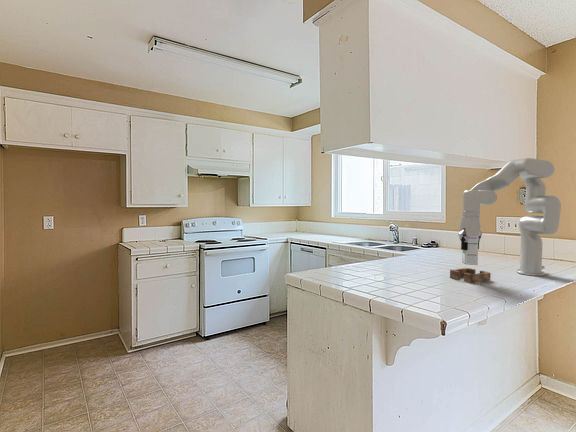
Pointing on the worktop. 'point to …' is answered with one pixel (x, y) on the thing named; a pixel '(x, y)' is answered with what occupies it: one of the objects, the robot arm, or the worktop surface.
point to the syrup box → (471, 252)
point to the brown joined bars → (470, 275)
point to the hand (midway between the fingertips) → (470, 249)
